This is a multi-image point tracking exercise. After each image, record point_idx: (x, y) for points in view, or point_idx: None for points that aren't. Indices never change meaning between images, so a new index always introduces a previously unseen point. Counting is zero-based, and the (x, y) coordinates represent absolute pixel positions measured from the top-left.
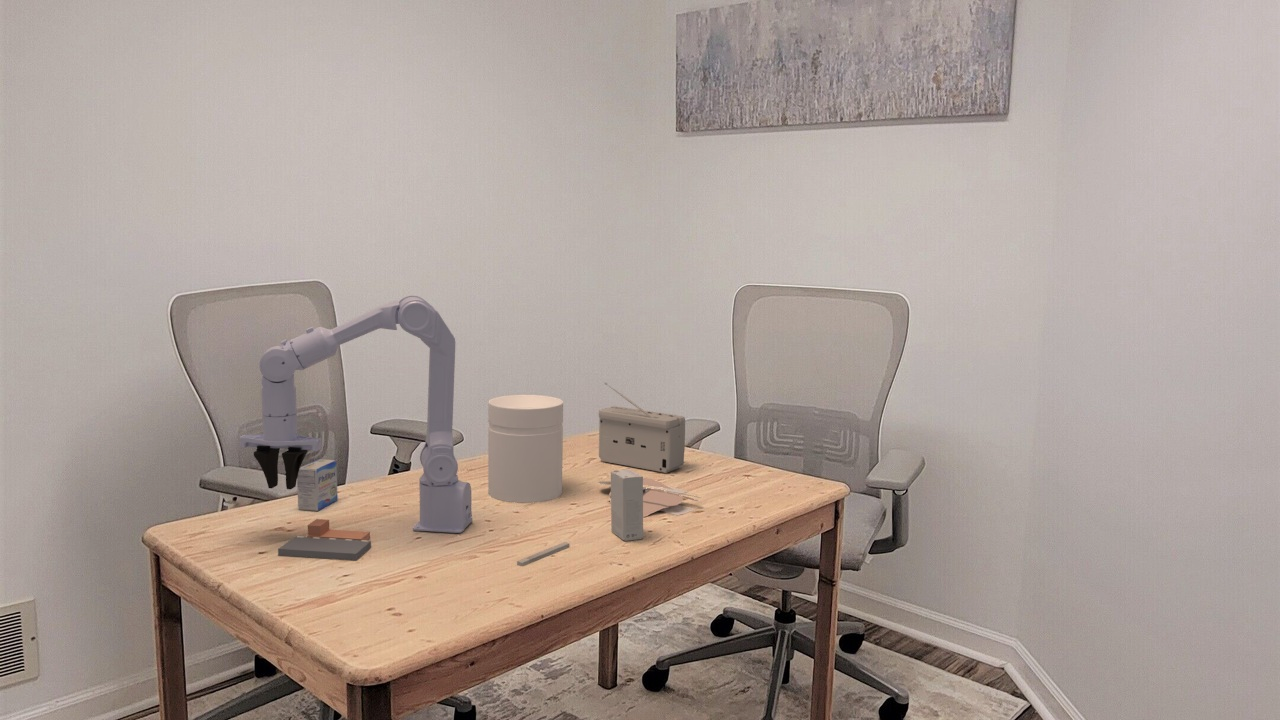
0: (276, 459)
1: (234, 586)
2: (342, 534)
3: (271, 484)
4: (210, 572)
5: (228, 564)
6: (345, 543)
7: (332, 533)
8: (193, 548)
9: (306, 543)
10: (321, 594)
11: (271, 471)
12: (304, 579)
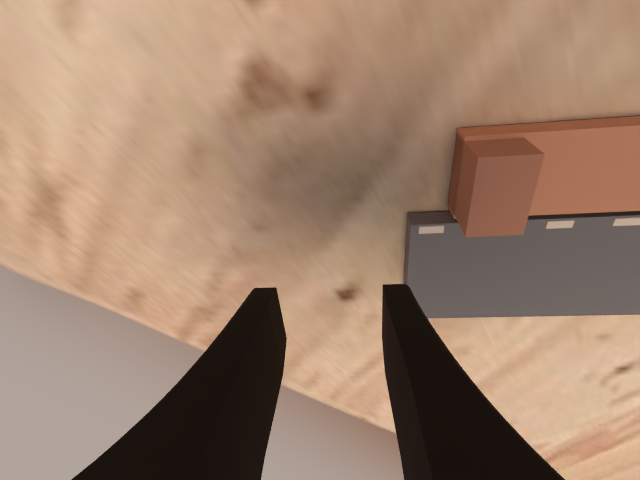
0: (210, 478)
1: (394, 425)
2: (595, 179)
3: (282, 361)
4: (306, 390)
5: (313, 359)
6: (616, 250)
7: (548, 177)
8: (153, 300)
9: (475, 273)
10: (579, 432)
11: (258, 434)
12: (524, 393)
